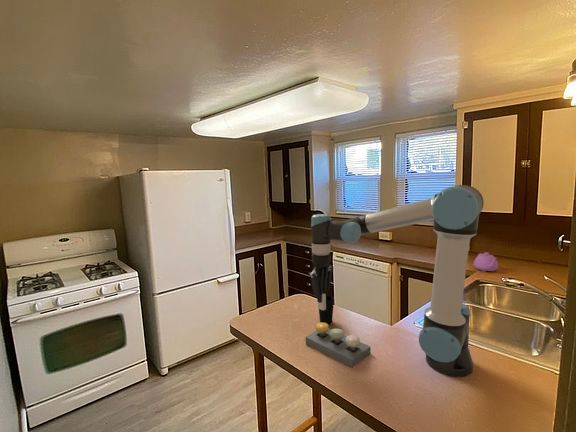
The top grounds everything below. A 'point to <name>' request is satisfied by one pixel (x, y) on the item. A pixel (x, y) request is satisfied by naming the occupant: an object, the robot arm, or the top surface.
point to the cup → (327, 311)
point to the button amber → (322, 328)
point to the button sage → (336, 335)
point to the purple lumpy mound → (486, 262)
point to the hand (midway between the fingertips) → (321, 308)
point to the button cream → (352, 342)
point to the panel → (338, 348)
